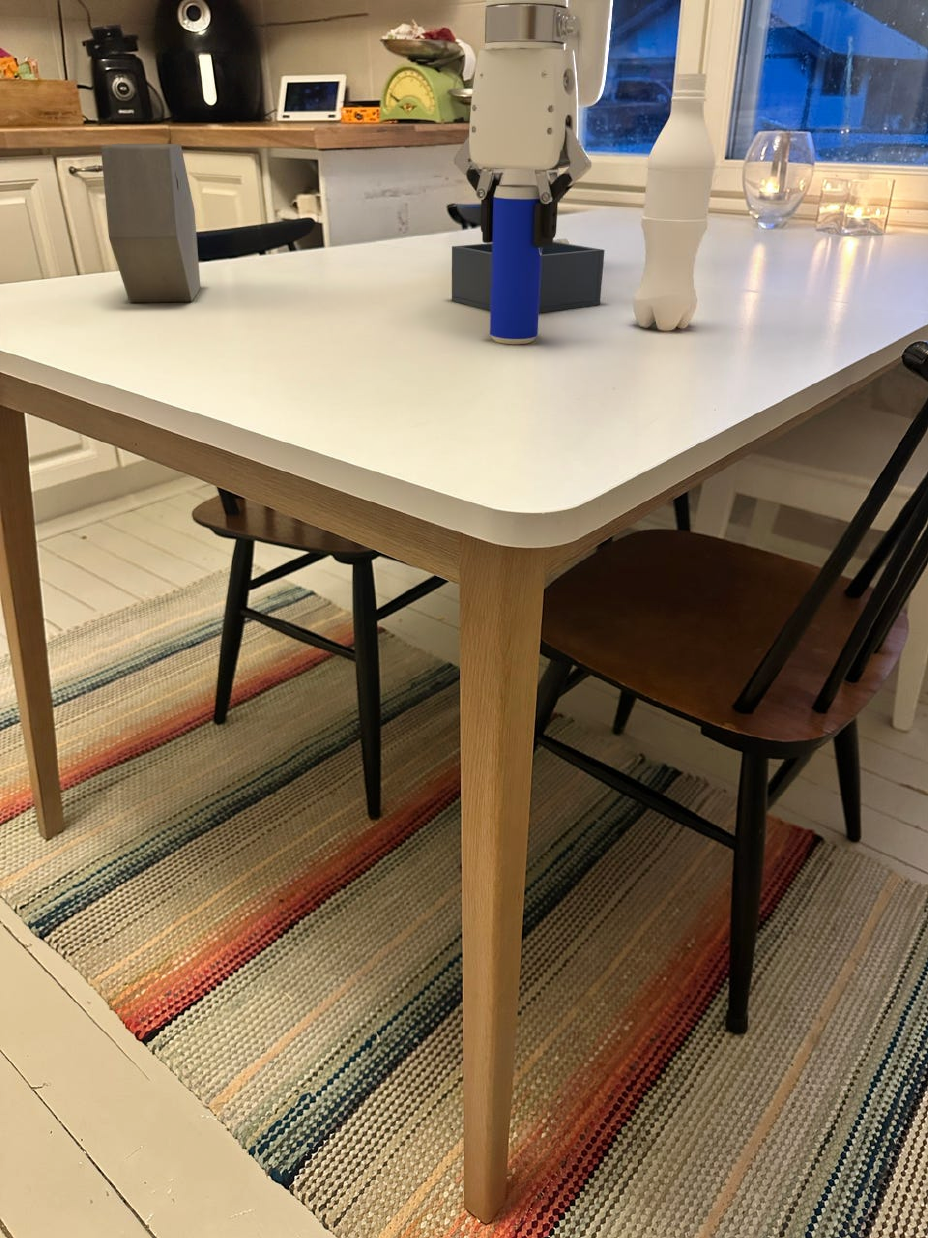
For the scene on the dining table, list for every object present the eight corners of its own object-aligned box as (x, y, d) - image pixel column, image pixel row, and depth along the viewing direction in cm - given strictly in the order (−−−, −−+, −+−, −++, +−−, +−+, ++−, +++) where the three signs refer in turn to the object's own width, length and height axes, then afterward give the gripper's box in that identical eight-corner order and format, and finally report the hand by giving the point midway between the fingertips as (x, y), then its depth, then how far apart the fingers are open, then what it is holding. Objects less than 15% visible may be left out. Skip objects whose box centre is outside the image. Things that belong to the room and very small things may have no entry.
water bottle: (687, 320, 106) (719, 75, 94) (699, 333, 100) (735, 73, 87) (626, 319, 106) (651, 74, 94) (635, 332, 100) (662, 72, 88)
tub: (536, 290, 123) (539, 238, 120) (600, 304, 114) (604, 249, 111) (451, 300, 115) (451, 246, 112) (512, 316, 107) (514, 258, 103)
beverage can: (543, 344, 94) (552, 187, 87) (496, 346, 93) (501, 187, 86) (529, 333, 99) (537, 183, 91) (484, 335, 98) (488, 184, 90)
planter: (145, 244, 124) (105, 100, 105) (201, 243, 125) (172, 101, 107) (139, 334, 116) (95, 196, 98) (199, 333, 117) (167, 196, 99)
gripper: (627, 32, 81) (608, 246, 90) (468, 37, 89) (465, 234, 98) (593, 26, 75) (577, 254, 84) (426, 32, 83) (428, 240, 92)
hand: (517, 241), depth 91 cm, fingers closed on beverage can, 5 cm apart
